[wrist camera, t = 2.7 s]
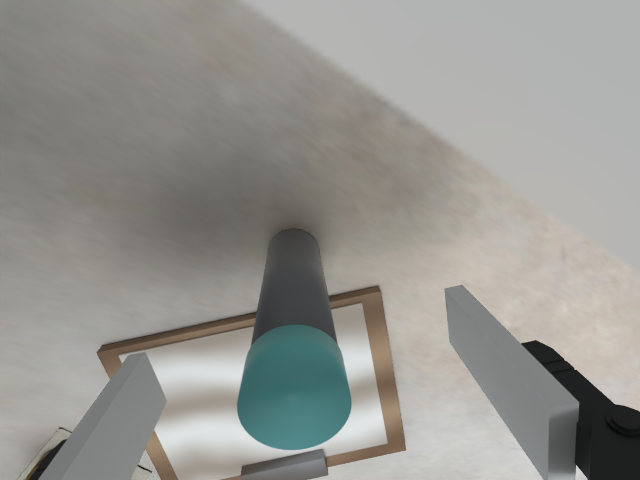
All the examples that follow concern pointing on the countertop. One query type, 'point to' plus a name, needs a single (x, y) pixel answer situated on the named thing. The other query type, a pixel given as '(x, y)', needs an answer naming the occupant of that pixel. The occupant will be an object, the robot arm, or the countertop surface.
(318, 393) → the marker
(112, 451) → the robot arm
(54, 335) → the countertop surface
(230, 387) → the clipboard
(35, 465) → the condiment
